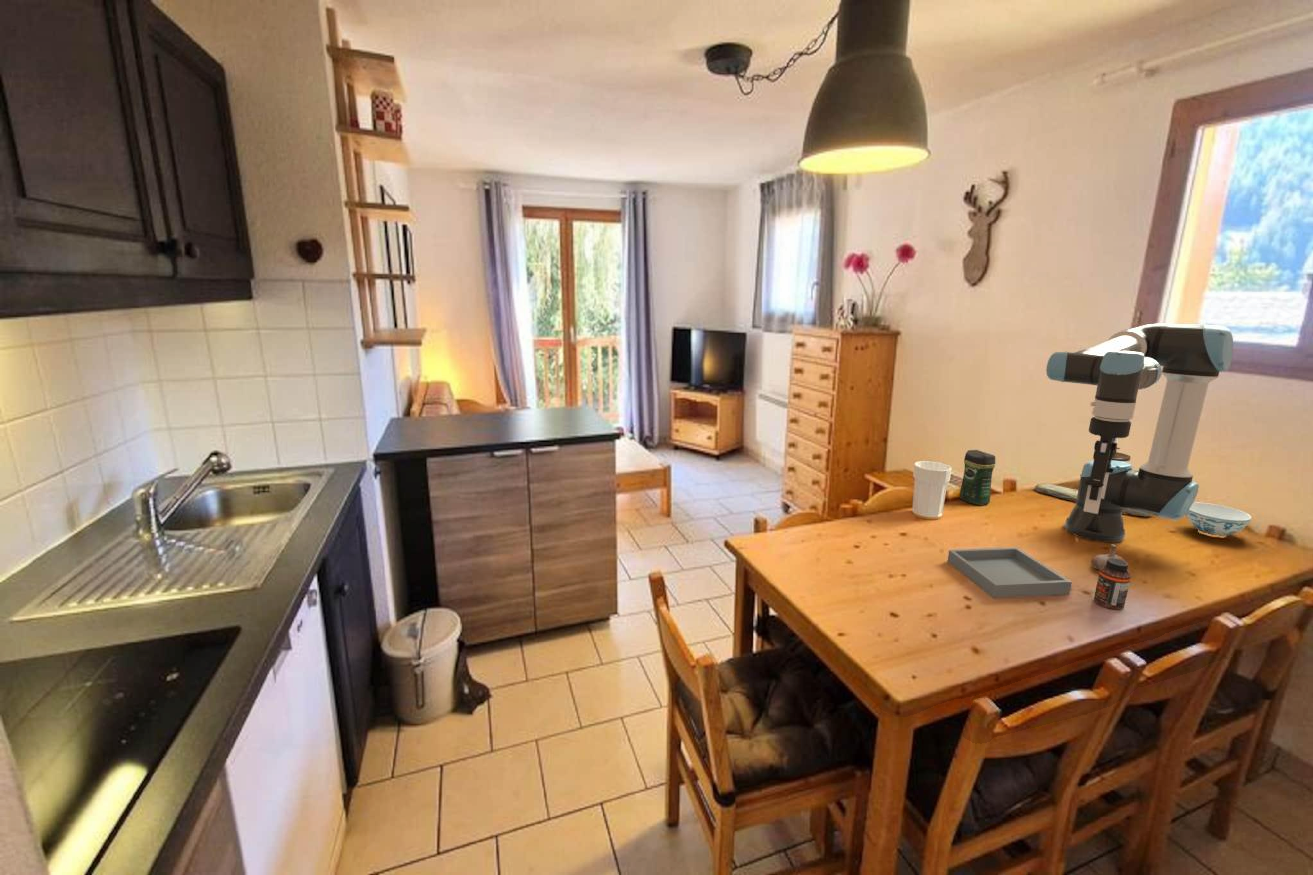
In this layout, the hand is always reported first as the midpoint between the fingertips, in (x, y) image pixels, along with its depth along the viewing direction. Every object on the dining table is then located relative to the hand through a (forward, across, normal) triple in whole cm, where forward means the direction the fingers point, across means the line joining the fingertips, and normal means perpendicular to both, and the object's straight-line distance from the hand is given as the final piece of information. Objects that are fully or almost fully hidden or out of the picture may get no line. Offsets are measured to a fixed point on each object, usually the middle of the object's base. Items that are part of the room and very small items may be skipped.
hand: (1093, 504), depth 140 cm
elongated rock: (+24, -81, -5) cm, 85 cm away
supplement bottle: (+24, +1, +7) cm, 25 cm away
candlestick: (+23, -100, -3) cm, 103 cm away
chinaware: (+24, -72, +26) cm, 81 cm away
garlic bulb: (+24, -20, +5) cm, 32 cm away
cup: (+24, -30, -45) cm, 59 cm away
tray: (+24, +2, -15) cm, 28 cm away
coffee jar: (+24, -55, -37) cm, 70 cm away
